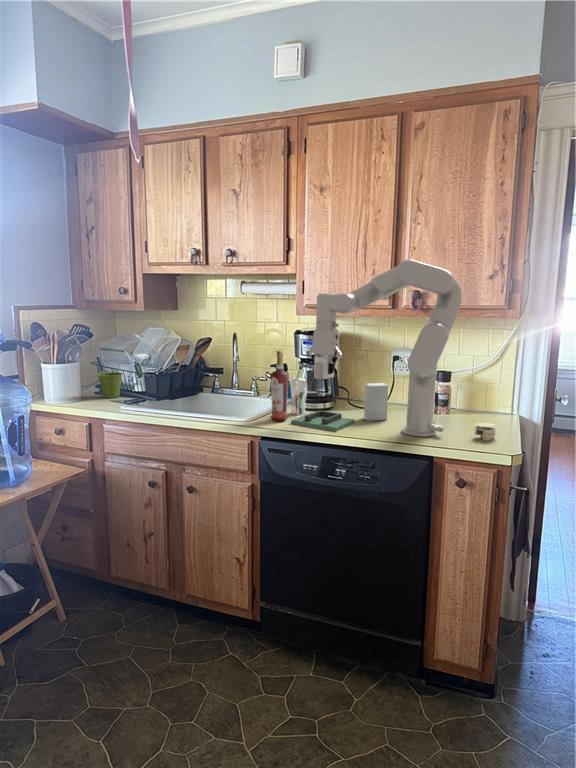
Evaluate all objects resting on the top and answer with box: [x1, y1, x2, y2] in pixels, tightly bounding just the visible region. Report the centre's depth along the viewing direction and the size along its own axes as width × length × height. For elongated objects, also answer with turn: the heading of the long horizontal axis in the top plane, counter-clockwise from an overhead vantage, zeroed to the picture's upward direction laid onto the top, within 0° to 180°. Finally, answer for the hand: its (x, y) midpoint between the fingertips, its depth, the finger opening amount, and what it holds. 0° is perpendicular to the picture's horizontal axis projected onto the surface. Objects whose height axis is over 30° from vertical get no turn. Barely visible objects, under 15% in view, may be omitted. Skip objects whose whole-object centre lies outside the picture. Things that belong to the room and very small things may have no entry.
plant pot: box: [96, 371, 124, 399], centre depth 252 cm, size 12×12×11 cm
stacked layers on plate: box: [473, 422, 497, 441], centre depth 190 cm, size 10×9×6 cm
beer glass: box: [290, 377, 308, 416], centre depth 223 cm, size 7×7×15 cm
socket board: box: [290, 410, 356, 432], centre depth 208 cm, size 20×16×4 cm
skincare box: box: [363, 382, 389, 422], centre depth 215 cm, size 8×6×15 cm
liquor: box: [270, 350, 290, 422], centre depth 210 cm, size 7×7×28 cm
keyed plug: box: [313, 355, 335, 380], centre depth 204 cm, size 5×9×8 cm, turn 147°
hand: (324, 372), depth 205 cm, fingers closed on keyed plug, 4 cm apart
